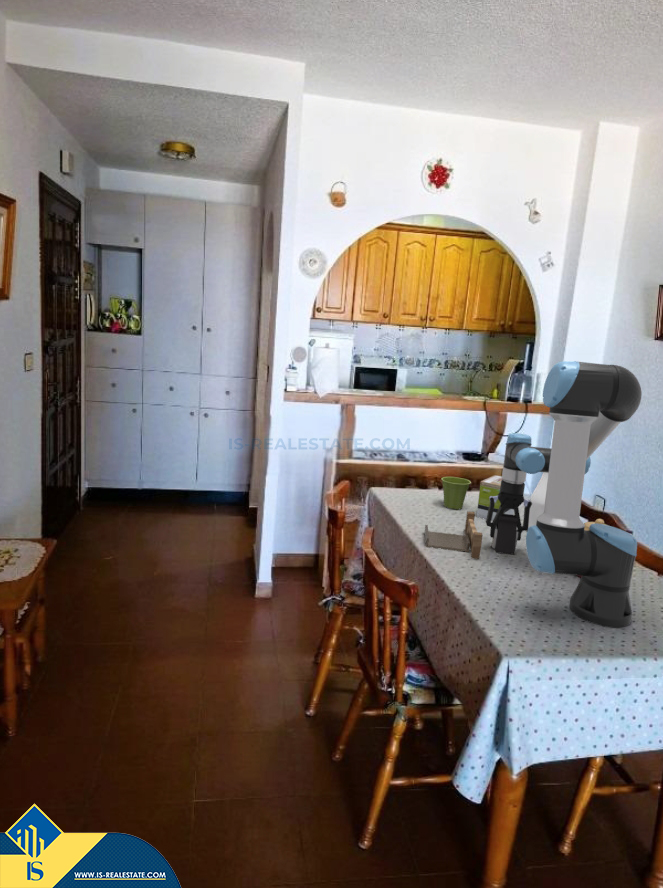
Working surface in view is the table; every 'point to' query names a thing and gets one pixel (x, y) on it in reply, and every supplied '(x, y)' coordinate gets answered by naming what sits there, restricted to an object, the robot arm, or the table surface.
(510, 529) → the phone stand
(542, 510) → the wine bottle
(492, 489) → the tea box
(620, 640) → the table surface
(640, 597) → the table surface
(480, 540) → the door pull handle
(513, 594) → the table surface
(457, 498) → the plant pot
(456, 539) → the keeper plate
